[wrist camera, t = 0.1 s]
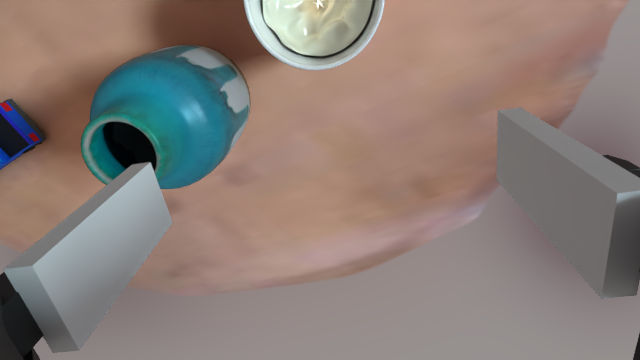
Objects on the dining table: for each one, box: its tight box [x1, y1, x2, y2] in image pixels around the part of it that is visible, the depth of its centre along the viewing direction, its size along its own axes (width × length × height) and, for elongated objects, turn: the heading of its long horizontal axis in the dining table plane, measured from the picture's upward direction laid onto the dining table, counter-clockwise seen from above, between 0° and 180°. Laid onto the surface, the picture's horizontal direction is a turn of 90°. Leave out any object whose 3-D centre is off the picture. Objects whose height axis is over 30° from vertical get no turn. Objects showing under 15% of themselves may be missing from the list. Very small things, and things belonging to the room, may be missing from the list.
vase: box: [81, 45, 251, 189], centre depth 34 cm, size 11×11×19 cm
